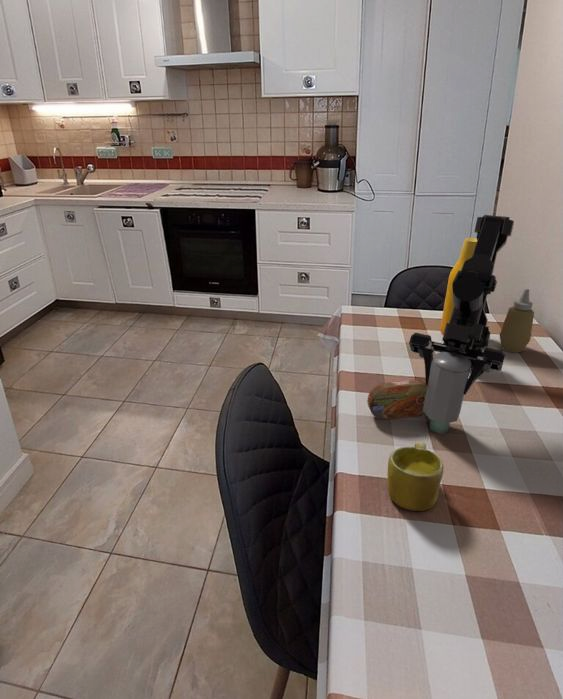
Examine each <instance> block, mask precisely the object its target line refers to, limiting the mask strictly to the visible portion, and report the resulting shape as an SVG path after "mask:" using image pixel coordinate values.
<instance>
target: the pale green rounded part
mask: <svg viewBox="0 0 563 699" xmlns="http://www.w3.org/2000/svg"><path fill="white" fill-rule="evenodd" d="M450 423H451V422H450ZM450 423H445V424H444V423H441V422H438V421H434V420H431V419H429V430H431V431H433V432H434V433H437V434H446V433H448V431H449V428H450Z"/></svg>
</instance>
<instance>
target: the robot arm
mask: <svg viewBox="0 0 563 699" xmlns="http://www.w3.org/2000/svg"><path fill="white" fill-rule="evenodd" d="M475 222H476V223H475V226H474V227H475V228H474V233H476V239H477V243H476V246H475V249H474V252H473V255H472V257H471V258H469V259H468V260H466V261H465V262H464V264H463V267H462V269H461V271H458V273H457V275H456V277H455V279H454V281H453V284H452V287H453V305H454V307H453V311H452V314H451V318H450V321H449V323H446V327H445V331H444V335H443V334H442V340H441V342H437V341H432V336H431V335H429V334H424V333H419V332H414V333H412V334H411V336H410V338H409V342H408V344H409V349H410V351H411V352H413V353H416V354H418V355H419V357H420V358H421V359H423V361H424V374H425V375H424V377H425V383H426V385H428V380H429V375H430V370H431V365H432V361H433V359H434V352H437V353H440V352H454V353H458V354H461V355H463V356H465V357H467V358H468V359H469V360H470V362H471V364H472V365H471V370H470V373H469V377H468V381H467V383H466V386H465V390H464V396H466V395H467V393H468V392H469V391H470V389H471V388H472V387H473V385H474V384H475V382H476V381H477V380H478V379H479V378H480V377H481V376H482V375H483V374H485V373H490V371H491V370H492V371H497V372H501V371H502V369H503V366H504V365H503V364H504V362H505V356H506V353H505V351H504V349H503V350H501V349H497V348H493V347H492V348H491V347H488V345H489V341H490V338H491V331H490V327H489V326H488V317H487V314H486V311H485V306H486V303H487V298H488V295H491V293H494V292H495V290H496V288H497V283H498V281H497V277H496V275H493V274H494V268H495V264H496V260H497V259H496V258H497V255H498V253H499V252H500V250H502V249H503V248H504V246H506V244H507V241H508V238H509V237H512V233H513V229H514V224H515V223H514V222H515V221H514V220H512V219H511V217H510V216H503V215H502V216H501V215H493V214H492V215H491V214H484V215H483V216H477V217H476V221H475ZM483 349H484V350H483Z"/></svg>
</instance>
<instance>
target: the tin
mask: <svg viewBox="0 0 563 699" xmlns="http://www.w3.org/2000/svg"><path fill="white" fill-rule="evenodd" d="M427 386H428V385H426V382H425V381H422V380H421V379H420V380H419V379H411V380H398V381H391V382H390V381H389V382H383V383H379V384H378V385H375V386H374V387H373V388H372V389H371V390H370V392H369V394H368V396H367V399H366V400H367V401H366V402H367V406H368V408H369V410H370V413H371V414H372V415H373V417H375V418H377V419H378V420H382V421H383V420H395V419H402V418H412V417H419V416H421V415H423V414H425V413H424V412H423V406H424V401H425V396H426V391H427Z"/></svg>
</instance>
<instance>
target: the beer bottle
mask: <svg viewBox="0 0 563 699" xmlns="http://www.w3.org/2000/svg"><path fill="white" fill-rule="evenodd" d="M476 243H477V237H466V238H465V239H464V240H463V244H462V248H461V252H460V254H459V258H458V260H457V261H456V263H455V264H454V266H453V267H452V269H451V271H450V273H449V276H448V282H447V288H446V294H445V298H444V305H443V311H442V316H441V322H440V327H439V328H440V330H439V331H440V333H441V334H442V336H443V335H444V331H445V327H446V323H449V321H450V318H451V314H452V311H453V307H454V305H453V287H452V284H453V281H454V279H455V277H456V275H457V273H458V271H461V269H462V267H463V264H464V262H465V261H466V260H468V259H469V258H471V257H472V255H473V252H474V249H475V246H476Z"/></svg>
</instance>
